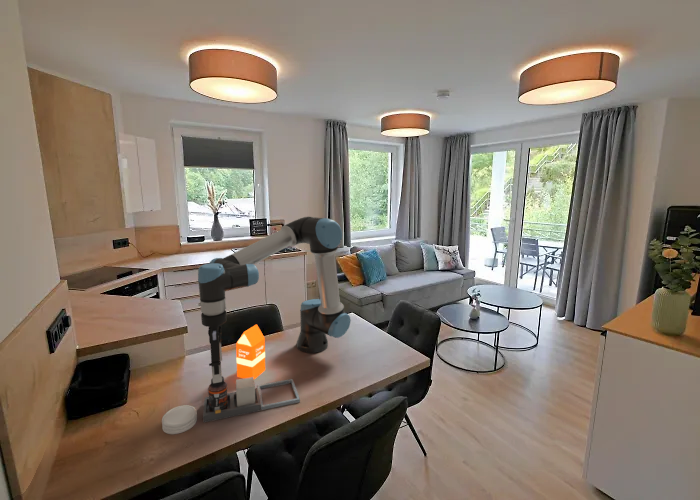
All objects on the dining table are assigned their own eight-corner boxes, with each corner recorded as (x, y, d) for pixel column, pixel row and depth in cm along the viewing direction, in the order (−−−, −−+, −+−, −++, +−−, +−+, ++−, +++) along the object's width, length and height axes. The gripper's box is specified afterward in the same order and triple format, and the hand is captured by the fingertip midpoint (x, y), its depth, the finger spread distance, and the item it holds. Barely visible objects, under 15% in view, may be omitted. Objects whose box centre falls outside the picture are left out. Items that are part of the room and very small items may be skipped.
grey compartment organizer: (257, 393, 121) (257, 373, 120) (260, 411, 112) (260, 388, 111) (205, 403, 115) (203, 382, 114) (203, 422, 106) (202, 399, 104)
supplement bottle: (221, 415, 109) (220, 385, 107) (205, 413, 110) (203, 382, 108) (231, 404, 114) (230, 375, 112) (215, 402, 116) (214, 372, 113)
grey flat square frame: (292, 381, 130) (292, 378, 130) (299, 402, 117) (299, 399, 117) (257, 388, 125) (257, 385, 125) (261, 410, 113) (260, 407, 112)
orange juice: (236, 376, 132) (235, 330, 129) (250, 366, 140) (249, 322, 137) (253, 381, 129) (251, 334, 126) (265, 370, 138) (265, 325, 134)
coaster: (160, 438, 99) (159, 428, 98) (164, 418, 108) (163, 408, 107) (196, 430, 103) (196, 420, 102) (197, 410, 112) (197, 401, 111)
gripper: (203, 300, 116) (207, 354, 120) (198, 328, 93) (203, 395, 97) (225, 297, 118) (229, 351, 123) (226, 325, 96) (230, 389, 100)
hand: (217, 370), depth 110 cm, fingers open, 13 cm apart
